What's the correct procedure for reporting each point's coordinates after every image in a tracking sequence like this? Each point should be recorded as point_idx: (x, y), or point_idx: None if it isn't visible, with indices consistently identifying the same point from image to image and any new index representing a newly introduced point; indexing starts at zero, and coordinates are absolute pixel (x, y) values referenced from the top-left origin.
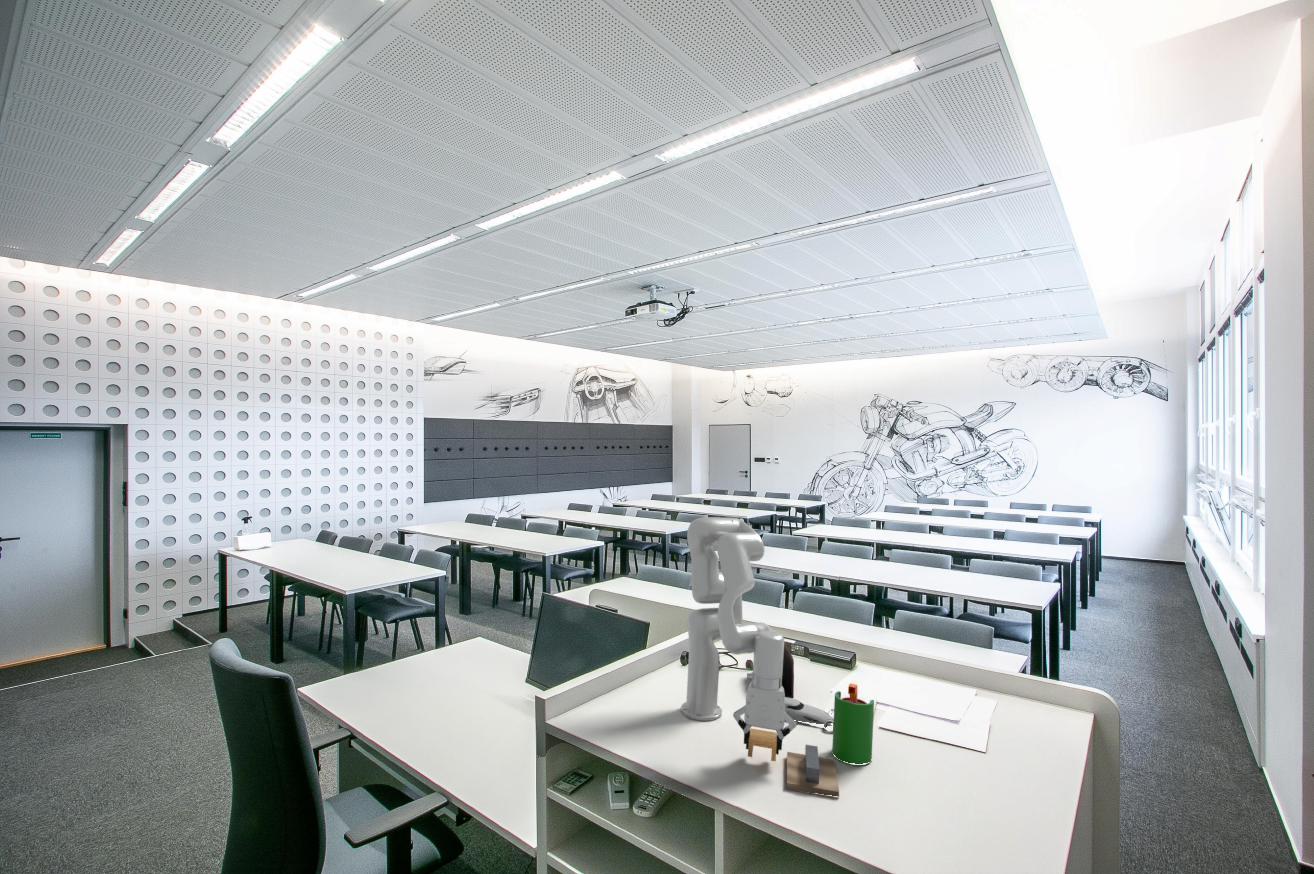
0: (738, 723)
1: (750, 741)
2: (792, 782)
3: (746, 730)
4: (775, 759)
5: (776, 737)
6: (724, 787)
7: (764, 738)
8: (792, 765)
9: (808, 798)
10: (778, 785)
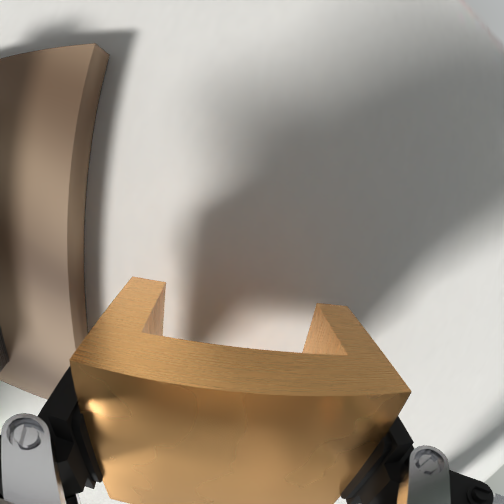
0: (485, 487)
1: (383, 377)
2: (61, 63)
3: (421, 469)
4: (129, 282)
5: (99, 457)
6: (451, 56)
7: (222, 442)
8: (42, 282)
9: (32, 21)
10: (149, 82)
